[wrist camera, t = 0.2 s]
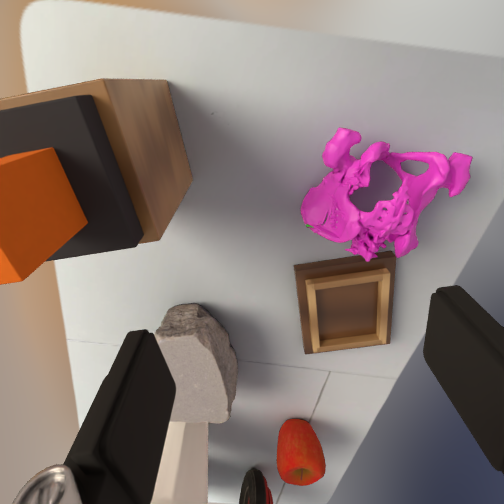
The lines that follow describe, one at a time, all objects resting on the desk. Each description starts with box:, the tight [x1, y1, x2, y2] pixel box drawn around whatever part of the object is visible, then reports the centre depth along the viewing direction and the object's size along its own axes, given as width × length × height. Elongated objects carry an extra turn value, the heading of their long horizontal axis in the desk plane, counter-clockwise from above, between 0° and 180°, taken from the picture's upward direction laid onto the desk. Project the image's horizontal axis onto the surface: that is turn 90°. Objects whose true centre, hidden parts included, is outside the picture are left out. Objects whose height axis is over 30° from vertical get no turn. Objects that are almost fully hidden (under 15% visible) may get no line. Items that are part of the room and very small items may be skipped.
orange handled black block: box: [0, 95, 144, 285], centre depth 13 cm, size 7×6×6 cm
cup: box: [150, 421, 209, 504], centre depth 37 cm, size 12×12×15 cm
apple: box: [277, 419, 326, 486], centre depth 42 cm, size 6×6×8 cm
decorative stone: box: [154, 303, 238, 423], centre depth 34 cm, size 15×7×10 cm
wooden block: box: [0, 79, 193, 244], centre depth 21 cm, size 8×7×12 cm
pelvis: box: [301, 128, 473, 262], centre depth 25 cm, size 12×10×7 cm
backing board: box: [294, 251, 396, 354], centre depth 34 cm, size 12×10×2 cm
